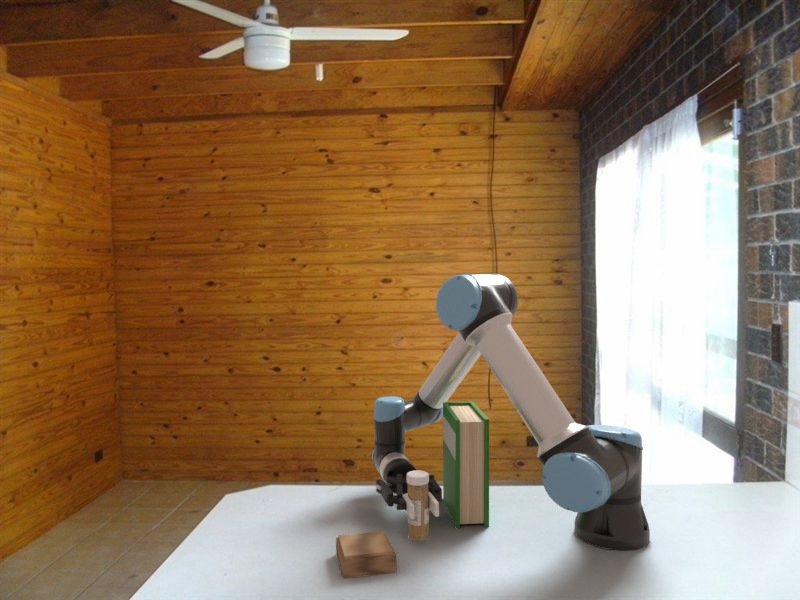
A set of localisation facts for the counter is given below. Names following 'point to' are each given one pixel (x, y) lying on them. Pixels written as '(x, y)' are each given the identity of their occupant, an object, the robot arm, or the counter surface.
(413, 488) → the sprinkles bottle
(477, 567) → the counter surface
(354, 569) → the walnut base
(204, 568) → the counter surface
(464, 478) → the hardback book
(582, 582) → the counter surface
